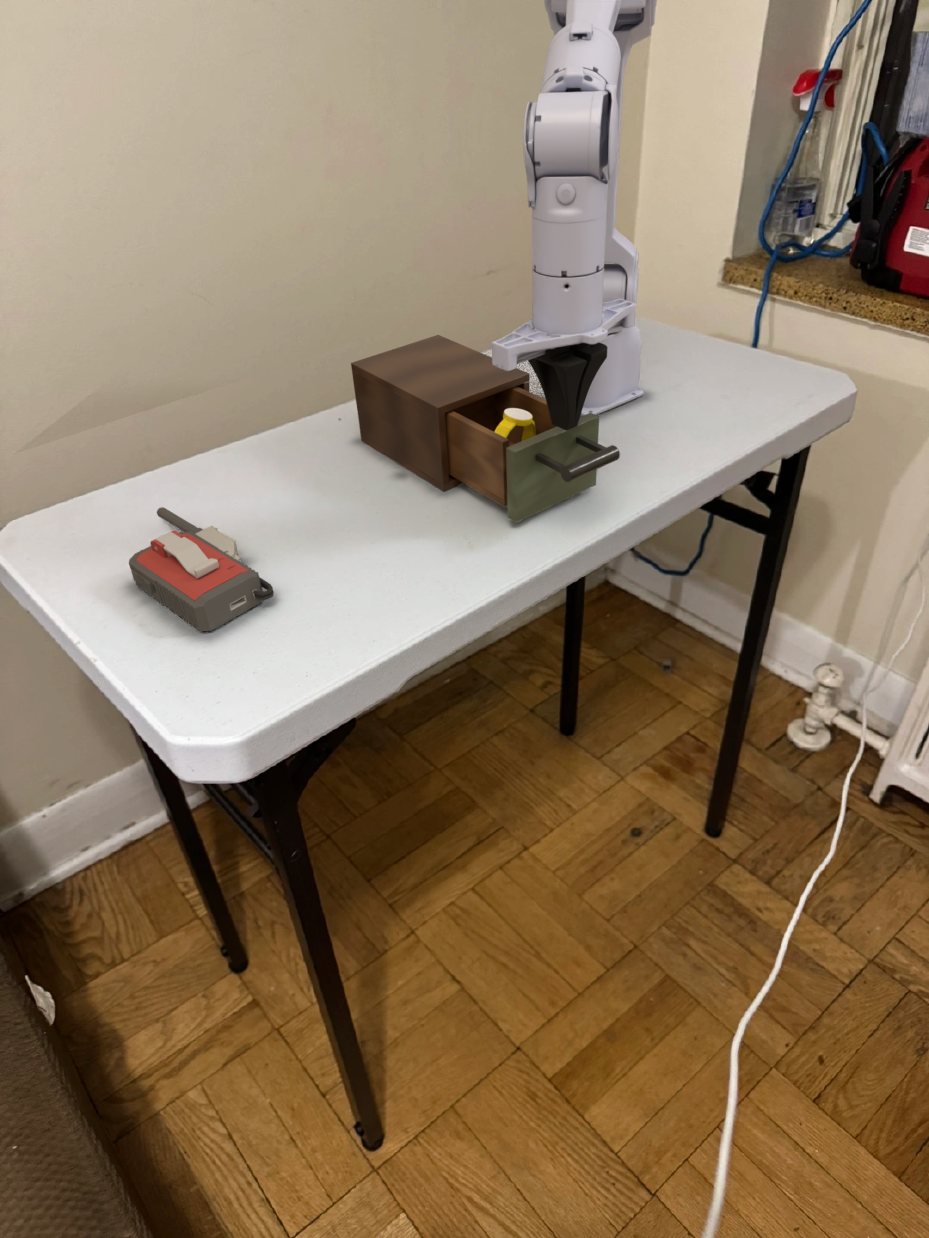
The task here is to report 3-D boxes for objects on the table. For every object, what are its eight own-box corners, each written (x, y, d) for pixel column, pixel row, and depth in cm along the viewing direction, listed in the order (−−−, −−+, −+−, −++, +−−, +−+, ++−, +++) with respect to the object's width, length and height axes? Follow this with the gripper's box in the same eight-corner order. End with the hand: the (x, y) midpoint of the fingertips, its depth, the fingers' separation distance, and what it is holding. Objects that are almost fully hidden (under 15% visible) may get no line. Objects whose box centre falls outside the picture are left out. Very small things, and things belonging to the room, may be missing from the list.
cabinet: (530, 454, 93) (529, 373, 87) (443, 492, 87) (437, 408, 82) (443, 410, 103) (438, 334, 97) (361, 440, 97) (350, 362, 92)
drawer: (632, 504, 82) (638, 433, 78) (551, 544, 77) (552, 472, 73) (502, 436, 95) (500, 372, 90) (425, 468, 90) (419, 402, 85)
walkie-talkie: (297, 593, 75) (172, 518, 86) (288, 551, 72) (160, 478, 83) (211, 643, 70) (91, 556, 81) (198, 600, 67) (76, 516, 79)
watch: (499, 484, 83) (509, 426, 79) (477, 472, 84) (486, 415, 81) (535, 467, 87) (547, 411, 83) (514, 456, 88) (524, 401, 85)
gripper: (532, 300, 63) (533, 467, 71) (668, 256, 69) (654, 414, 78) (472, 279, 67) (479, 439, 76) (605, 240, 74) (598, 391, 82)
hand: (564, 424), depth 77 cm, fingers closed
